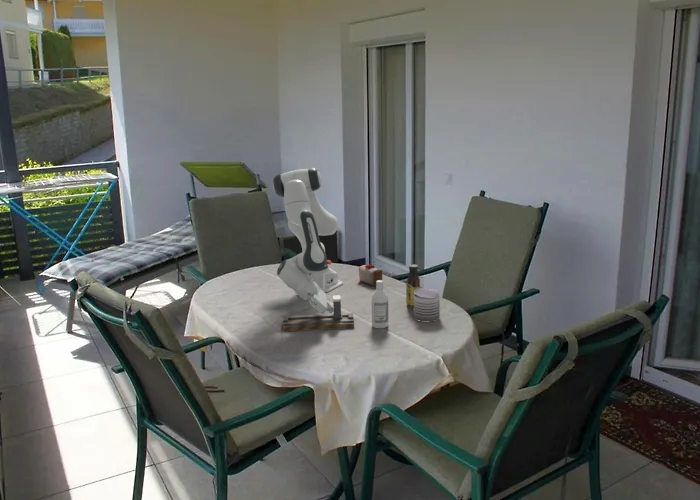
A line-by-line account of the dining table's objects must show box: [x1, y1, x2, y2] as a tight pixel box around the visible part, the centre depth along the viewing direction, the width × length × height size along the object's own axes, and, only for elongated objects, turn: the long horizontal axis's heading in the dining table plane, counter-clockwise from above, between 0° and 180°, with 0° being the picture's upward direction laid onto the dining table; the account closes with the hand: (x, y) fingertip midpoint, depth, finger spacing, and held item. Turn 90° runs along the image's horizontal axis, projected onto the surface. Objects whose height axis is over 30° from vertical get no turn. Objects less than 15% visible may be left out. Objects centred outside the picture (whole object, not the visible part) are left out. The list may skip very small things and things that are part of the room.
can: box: [413, 287, 441, 322], centre depth 279 cm, size 11×11×12 cm
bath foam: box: [371, 279, 389, 329], centre depth 270 cm, size 7×7×20 cm
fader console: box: [282, 312, 355, 332], centre depth 275 cm, size 30×12×4 cm, turn 94°
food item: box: [358, 263, 383, 287], centre depth 330 cm, size 14×8×10 cm, turn 37°
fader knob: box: [332, 294, 343, 320], centre depth 274 cm, size 4×5×10 cm
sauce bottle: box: [405, 264, 421, 309], centre depth 292 cm, size 7×6×20 cm
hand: (332, 311), depth 274 cm, fingers closed, pressing on fader knob
